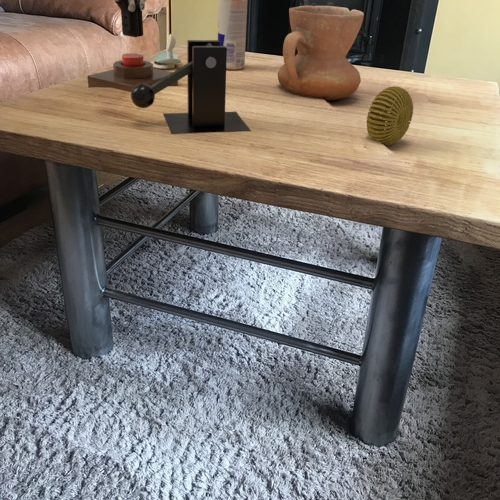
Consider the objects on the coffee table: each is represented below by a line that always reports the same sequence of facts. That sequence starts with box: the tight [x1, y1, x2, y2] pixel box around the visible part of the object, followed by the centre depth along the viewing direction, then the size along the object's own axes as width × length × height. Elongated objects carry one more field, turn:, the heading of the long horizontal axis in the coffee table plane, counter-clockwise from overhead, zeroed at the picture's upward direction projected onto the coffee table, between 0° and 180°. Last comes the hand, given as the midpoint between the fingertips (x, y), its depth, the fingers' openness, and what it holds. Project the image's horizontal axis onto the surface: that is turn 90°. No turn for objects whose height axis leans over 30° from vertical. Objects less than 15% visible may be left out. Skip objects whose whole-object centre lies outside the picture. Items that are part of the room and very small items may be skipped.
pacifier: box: [149, 33, 182, 70], centre depth 111 cm, size 7×6×6 cm
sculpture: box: [366, 86, 414, 147], centre depth 77 cm, size 8×4×8 cm, turn 136°
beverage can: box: [217, 0, 248, 71], centre depth 112 cm, size 6×6×15 cm
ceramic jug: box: [277, 5, 365, 101], centre depth 96 cm, size 18×14×14 cm
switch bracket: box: [162, 39, 252, 135], centre depth 77 cm, size 11×9×12 cm
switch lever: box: [130, 43, 212, 109], centre depth 75 cm, size 13×3×3 cm, turn 105°
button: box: [121, 52, 145, 67], centre depth 96 cm, size 4×4×2 cm
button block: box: [87, 59, 179, 93], centre depth 97 cm, size 12×10×4 cm
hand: (133, 35), depth 94 cm, fingers closed
